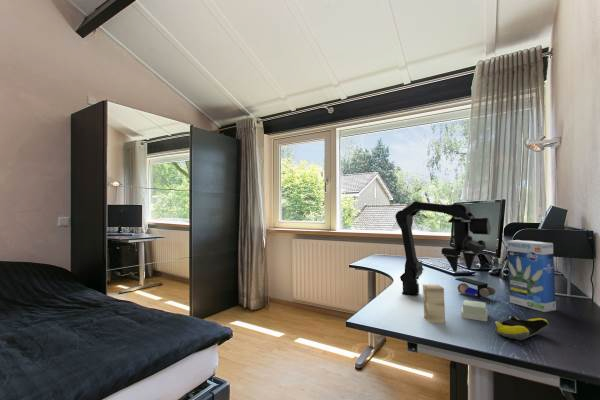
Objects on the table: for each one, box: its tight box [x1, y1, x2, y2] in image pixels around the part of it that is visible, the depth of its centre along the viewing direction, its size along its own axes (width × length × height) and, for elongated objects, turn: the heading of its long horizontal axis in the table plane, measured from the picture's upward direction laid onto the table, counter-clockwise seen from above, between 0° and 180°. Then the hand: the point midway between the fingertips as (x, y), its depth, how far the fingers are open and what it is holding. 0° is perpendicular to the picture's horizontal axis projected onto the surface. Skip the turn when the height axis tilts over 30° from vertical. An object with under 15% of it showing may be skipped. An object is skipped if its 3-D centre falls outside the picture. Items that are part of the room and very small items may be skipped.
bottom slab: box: [460, 306, 488, 322], centre depth 108 cm, size 8×8×2 cm
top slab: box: [462, 299, 487, 315], centre depth 108 cm, size 7×7×2 cm
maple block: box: [422, 283, 446, 324], centre depth 105 cm, size 6×6×12 cm
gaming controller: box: [494, 315, 549, 341], centre depth 90 cm, size 15×6×10 cm
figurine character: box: [454, 277, 497, 301], centre depth 131 cm, size 7×8×15 cm
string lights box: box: [506, 239, 557, 313], centre depth 117 cm, size 13×8×26 cm, turn 21°
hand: (462, 270), depth 123 cm, fingers open, 9 cm apart
